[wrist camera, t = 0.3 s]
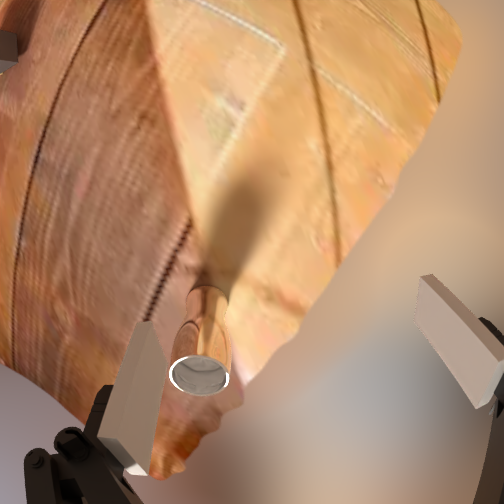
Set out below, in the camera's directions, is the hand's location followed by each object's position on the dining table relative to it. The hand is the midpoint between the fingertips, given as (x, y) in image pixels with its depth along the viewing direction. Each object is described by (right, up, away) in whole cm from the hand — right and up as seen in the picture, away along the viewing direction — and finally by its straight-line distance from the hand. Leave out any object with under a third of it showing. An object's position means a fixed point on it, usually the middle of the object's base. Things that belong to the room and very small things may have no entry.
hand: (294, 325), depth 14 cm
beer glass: (-8, -4, +31) cm, 33 cm away
